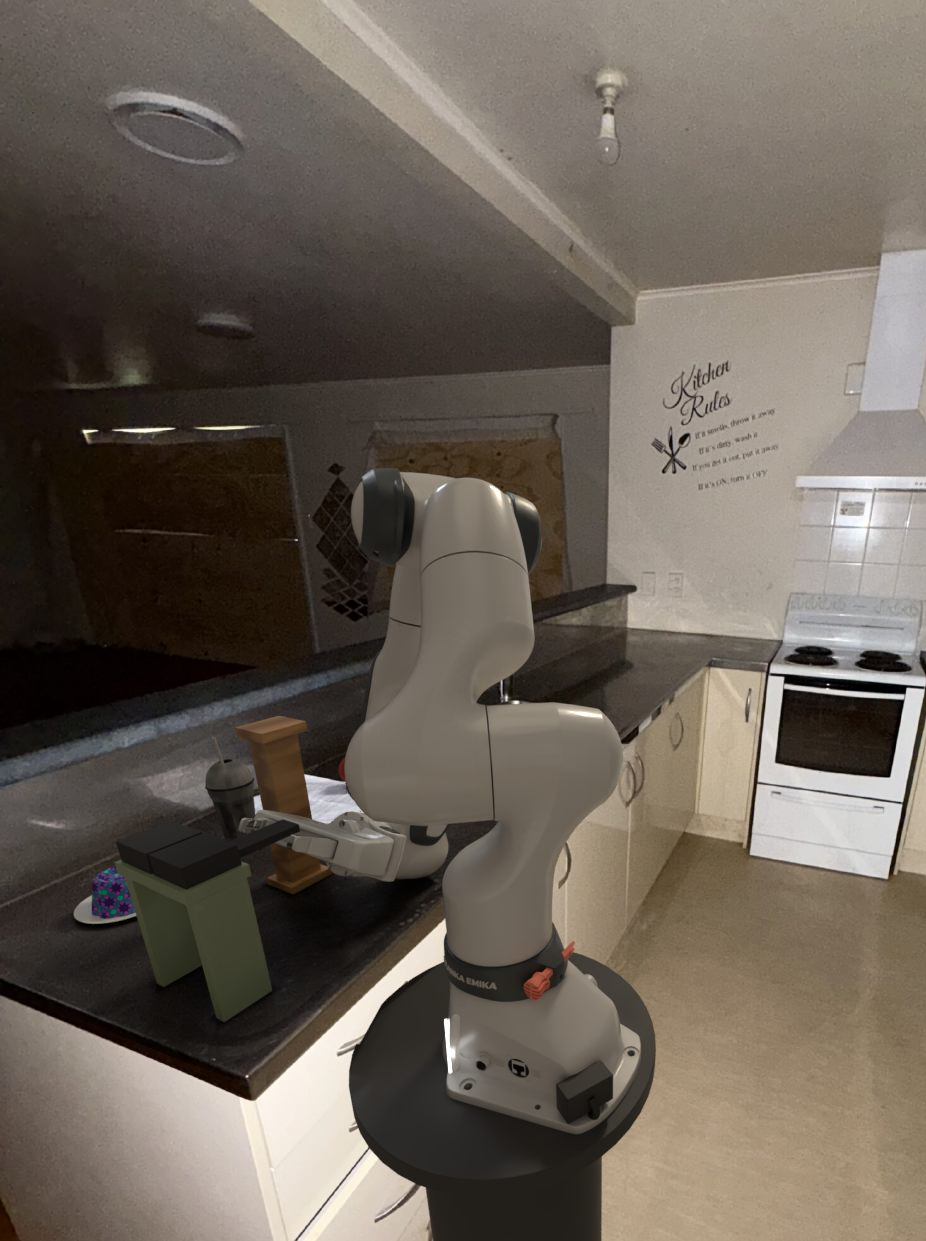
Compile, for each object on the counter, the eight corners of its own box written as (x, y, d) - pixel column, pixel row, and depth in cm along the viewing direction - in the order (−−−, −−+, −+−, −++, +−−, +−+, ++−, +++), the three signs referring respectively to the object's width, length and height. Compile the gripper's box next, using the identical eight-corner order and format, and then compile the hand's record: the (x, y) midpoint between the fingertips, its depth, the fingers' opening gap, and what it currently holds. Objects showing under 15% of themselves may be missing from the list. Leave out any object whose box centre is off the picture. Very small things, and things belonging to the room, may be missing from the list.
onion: (371, 780, 139) (366, 745, 136) (369, 789, 133) (364, 754, 131) (343, 782, 137) (337, 747, 134) (339, 792, 132) (334, 756, 129)
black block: (207, 851, 73) (202, 831, 72) (151, 874, 68) (145, 854, 67) (177, 839, 75) (172, 820, 75) (121, 861, 70) (115, 841, 70)
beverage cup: (276, 837, 113) (254, 730, 106) (243, 856, 106) (218, 744, 99) (243, 832, 115) (220, 726, 108) (209, 850, 108) (182, 739, 101)
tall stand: (331, 873, 101) (305, 721, 92) (293, 894, 95) (261, 733, 86) (306, 864, 104) (279, 715, 95) (267, 884, 98) (234, 727, 89)
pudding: (52, 926, 87) (40, 894, 86) (119, 881, 99) (110, 851, 97) (135, 929, 87) (125, 897, 85) (193, 884, 98) (185, 854, 96)
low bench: (276, 988, 76) (249, 864, 70) (219, 1025, 70) (184, 894, 64) (209, 953, 82) (179, 836, 76) (152, 985, 76) (114, 862, 70)
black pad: (308, 834, 77) (305, 815, 76) (186, 889, 65) (180, 868, 64) (276, 823, 80) (273, 805, 79) (154, 875, 68) (148, 854, 67)
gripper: (311, 807, 92) (221, 791, 80) (415, 838, 83) (332, 826, 71) (299, 849, 92) (206, 839, 79) (402, 885, 83) (315, 881, 70)
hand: (266, 833), depth 75 cm, fingers open, 8 cm apart
